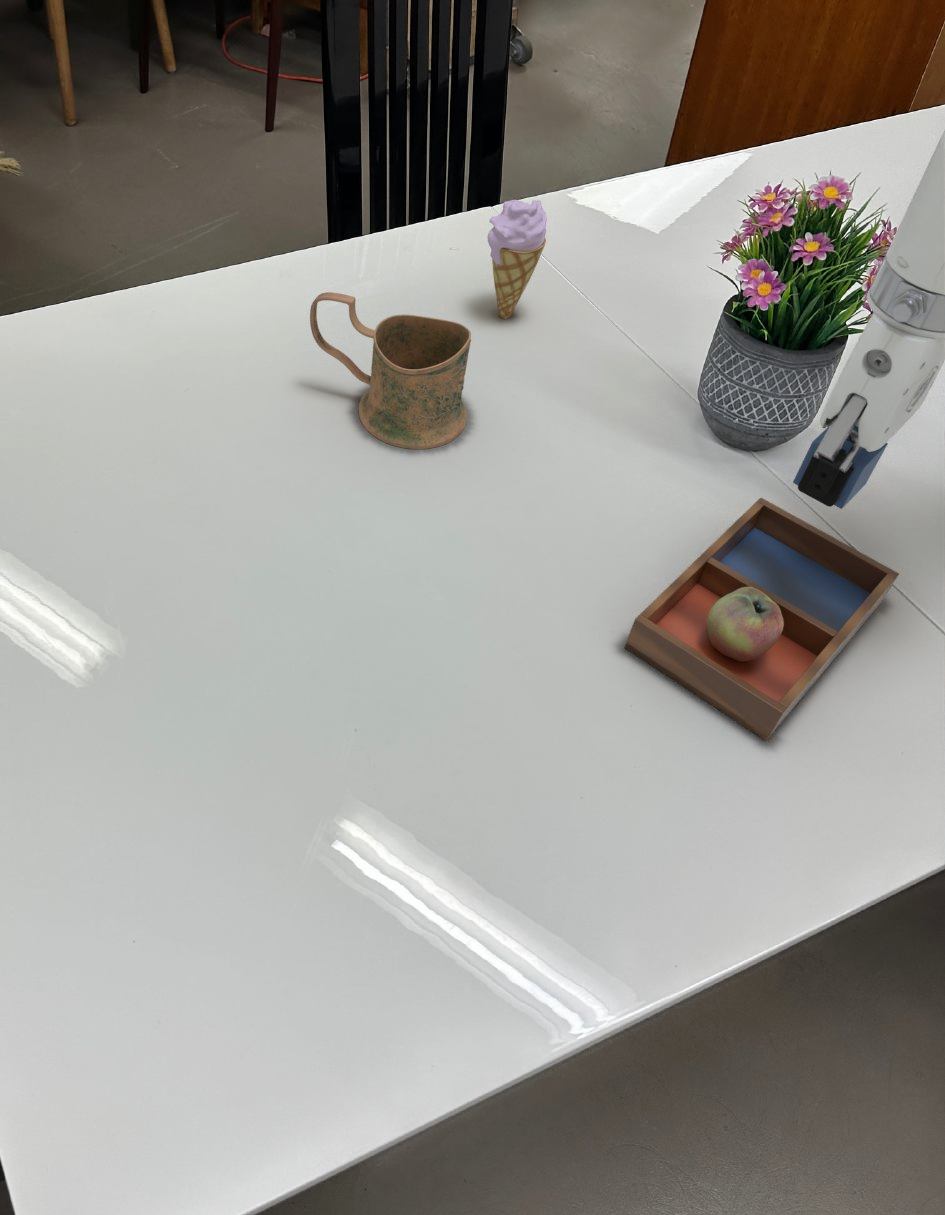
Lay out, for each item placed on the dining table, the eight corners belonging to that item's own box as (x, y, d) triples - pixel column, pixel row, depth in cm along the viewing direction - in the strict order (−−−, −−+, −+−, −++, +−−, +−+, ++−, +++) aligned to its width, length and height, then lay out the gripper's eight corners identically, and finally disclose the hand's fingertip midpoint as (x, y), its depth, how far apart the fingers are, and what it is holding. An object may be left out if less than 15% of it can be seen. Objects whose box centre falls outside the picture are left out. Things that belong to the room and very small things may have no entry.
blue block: (817, 458, 94) (837, 417, 90) (865, 484, 92) (888, 443, 88) (792, 482, 91) (812, 441, 88) (841, 509, 89) (864, 468, 86)
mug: (328, 357, 122) (332, 261, 113) (479, 396, 118) (496, 300, 109) (289, 417, 114) (290, 319, 105) (449, 460, 111) (464, 363, 102)
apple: (689, 671, 93) (710, 626, 88) (705, 607, 98) (725, 562, 93) (760, 694, 91) (785, 650, 87) (772, 628, 96) (796, 583, 92)
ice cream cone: (502, 338, 126) (524, 217, 115) (463, 313, 129) (481, 194, 118) (539, 317, 129) (565, 198, 118) (501, 294, 132) (522, 176, 121)
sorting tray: (747, 526, 106) (760, 496, 104) (881, 602, 100) (899, 573, 98) (623, 647, 95) (634, 618, 92) (766, 741, 89) (783, 713, 86)
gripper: (930, 362, 72) (824, 555, 85) (1024, 270, 80) (914, 458, 94) (826, 314, 75) (740, 507, 89) (927, 230, 84) (834, 418, 97)
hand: (830, 480), depth 91 cm, fingers closed on blue block, 4 cm apart
